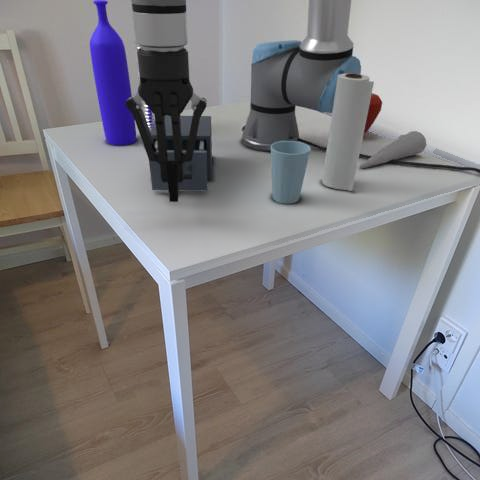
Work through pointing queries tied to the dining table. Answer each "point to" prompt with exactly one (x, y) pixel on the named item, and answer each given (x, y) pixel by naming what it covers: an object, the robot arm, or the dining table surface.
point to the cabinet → (202, 134)
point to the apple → (373, 111)
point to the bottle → (111, 80)
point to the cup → (288, 170)
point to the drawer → (184, 168)
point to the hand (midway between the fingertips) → (174, 198)
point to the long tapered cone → (398, 149)
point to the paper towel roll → (346, 130)
